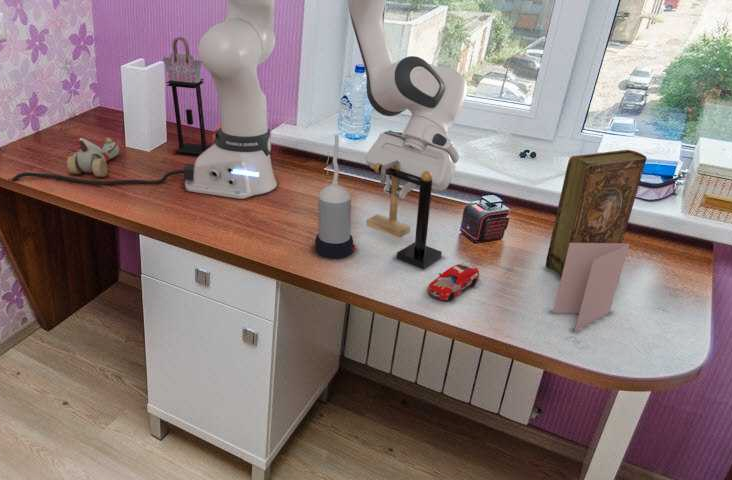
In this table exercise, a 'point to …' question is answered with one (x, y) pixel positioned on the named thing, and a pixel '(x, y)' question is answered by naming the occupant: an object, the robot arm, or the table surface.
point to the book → (595, 201)
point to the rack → (418, 250)
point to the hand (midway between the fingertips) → (393, 195)
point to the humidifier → (334, 218)
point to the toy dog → (92, 158)
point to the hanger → (390, 223)
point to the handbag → (188, 76)
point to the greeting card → (590, 280)
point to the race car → (453, 281)
